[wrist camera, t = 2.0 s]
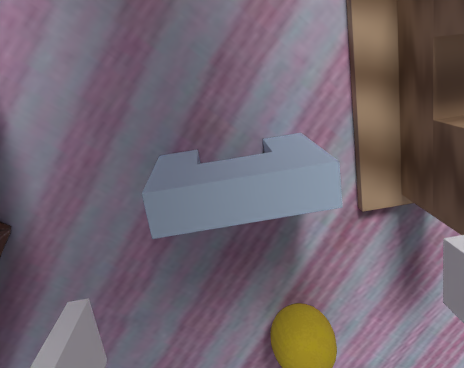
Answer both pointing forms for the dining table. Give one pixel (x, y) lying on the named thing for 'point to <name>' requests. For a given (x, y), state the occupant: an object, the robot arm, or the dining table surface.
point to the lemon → (303, 338)
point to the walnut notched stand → (409, 104)
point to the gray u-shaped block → (241, 187)
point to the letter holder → (4, 235)
